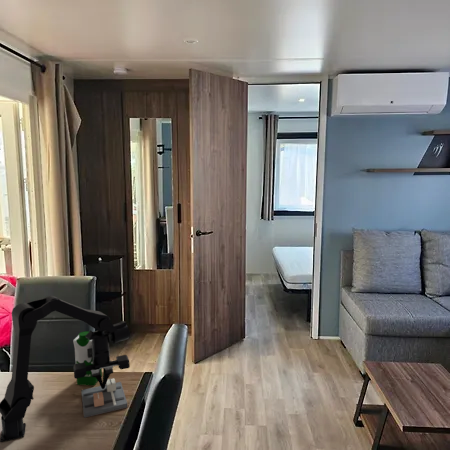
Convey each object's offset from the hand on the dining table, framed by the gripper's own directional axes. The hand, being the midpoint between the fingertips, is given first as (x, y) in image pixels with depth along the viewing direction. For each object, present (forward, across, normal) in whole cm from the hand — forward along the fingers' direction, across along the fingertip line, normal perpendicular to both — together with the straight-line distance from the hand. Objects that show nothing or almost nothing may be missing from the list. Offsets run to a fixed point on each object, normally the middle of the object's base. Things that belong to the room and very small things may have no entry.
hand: (103, 388), depth 140 cm
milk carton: (+3, +4, -12) cm, 13 cm away
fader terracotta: (+1, +2, +8) cm, 8 cm away
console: (+3, 0, +4) cm, 4 cm away
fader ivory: (+1, -3, 0) cm, 3 cm away
